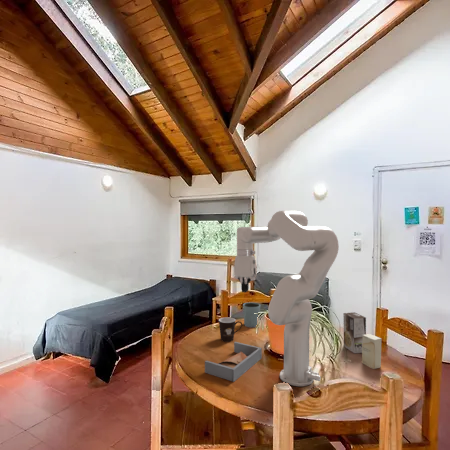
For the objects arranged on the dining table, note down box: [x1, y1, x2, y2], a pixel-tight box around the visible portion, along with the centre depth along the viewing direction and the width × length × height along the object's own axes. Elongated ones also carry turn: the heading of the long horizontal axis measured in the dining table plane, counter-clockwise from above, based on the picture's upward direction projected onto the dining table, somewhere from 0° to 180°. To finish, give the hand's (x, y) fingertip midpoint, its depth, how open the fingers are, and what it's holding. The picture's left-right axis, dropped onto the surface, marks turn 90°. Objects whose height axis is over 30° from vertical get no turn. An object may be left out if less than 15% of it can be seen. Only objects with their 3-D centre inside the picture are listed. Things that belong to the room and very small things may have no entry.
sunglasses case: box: [217, 351, 248, 368], centre depth 128 cm, size 18×7×7 cm
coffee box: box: [343, 311, 367, 354], centre depth 145 cm, size 9×6×16 cm
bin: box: [204, 341, 263, 382], centre depth 129 cm, size 14×24×4 cm, turn 148°
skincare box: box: [361, 333, 382, 370], centre depth 129 cm, size 6×4×12 cm
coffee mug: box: [218, 316, 243, 343], centre depth 158 cm, size 12×9×10 cm
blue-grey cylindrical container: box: [242, 301, 261, 328], centre depth 180 cm, size 10×10×12 cm
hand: (244, 291), depth 146 cm, fingers closed
